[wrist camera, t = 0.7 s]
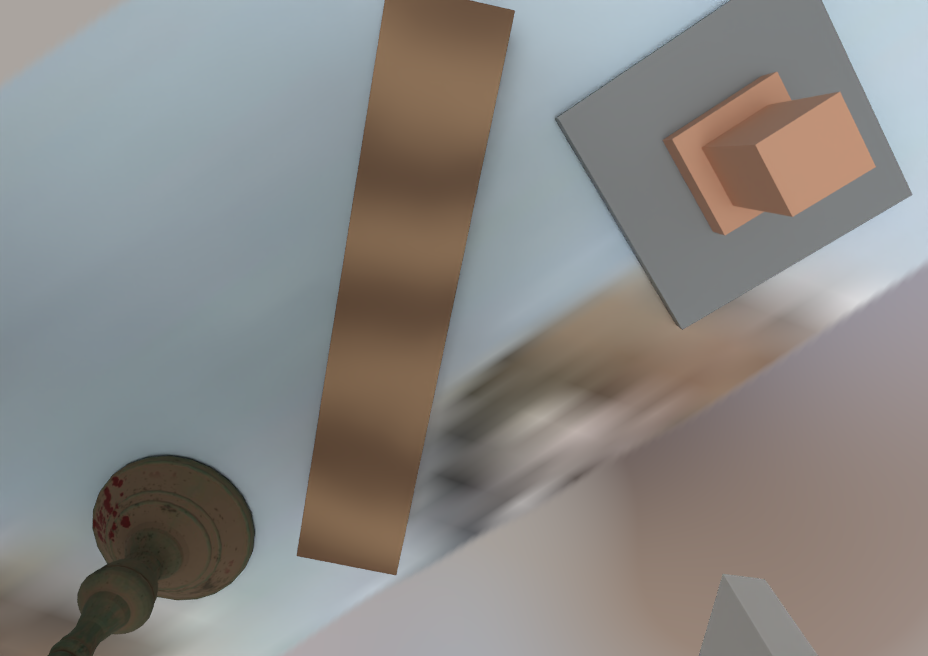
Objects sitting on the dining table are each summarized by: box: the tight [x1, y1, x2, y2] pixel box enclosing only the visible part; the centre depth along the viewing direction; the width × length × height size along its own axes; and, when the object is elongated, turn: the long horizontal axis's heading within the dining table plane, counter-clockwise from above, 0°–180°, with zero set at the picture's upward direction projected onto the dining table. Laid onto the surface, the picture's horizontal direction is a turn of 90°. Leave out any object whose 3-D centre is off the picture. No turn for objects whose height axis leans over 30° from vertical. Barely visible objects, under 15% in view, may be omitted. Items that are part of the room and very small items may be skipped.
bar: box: [297, 0, 515, 575], centre depth 30 cm, size 26×5×5 cm, turn 168°
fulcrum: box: [555, 0, 912, 330], centre depth 26 cm, size 12×12×8 cm
